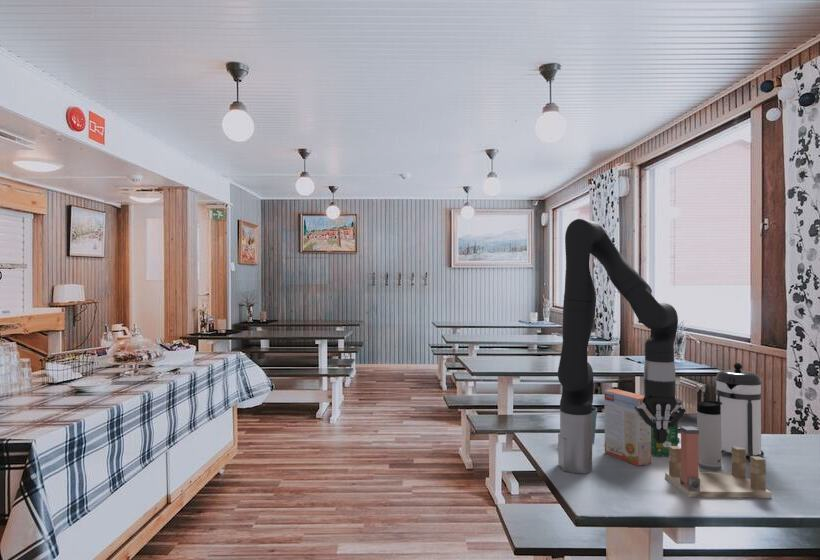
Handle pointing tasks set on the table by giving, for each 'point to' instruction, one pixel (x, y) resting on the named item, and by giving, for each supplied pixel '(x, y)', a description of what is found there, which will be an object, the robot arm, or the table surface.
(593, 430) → the drinking glass
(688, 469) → the folding leg
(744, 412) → the coffee press
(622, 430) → the cracker box
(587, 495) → the table surface
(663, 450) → the coffee box
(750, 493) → the stool seat
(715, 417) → the travel mug
